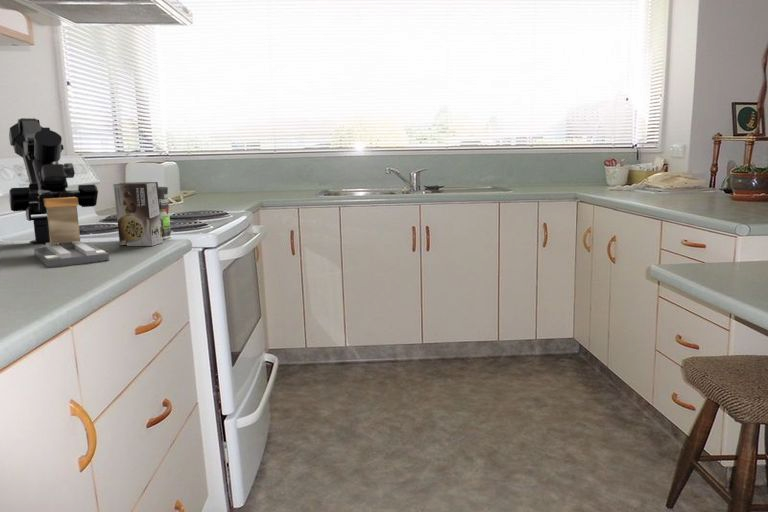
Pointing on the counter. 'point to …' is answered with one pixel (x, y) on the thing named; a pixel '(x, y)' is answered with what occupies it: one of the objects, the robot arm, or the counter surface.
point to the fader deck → (70, 254)
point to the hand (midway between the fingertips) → (61, 223)
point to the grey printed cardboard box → (138, 213)
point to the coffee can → (164, 212)
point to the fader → (63, 220)
